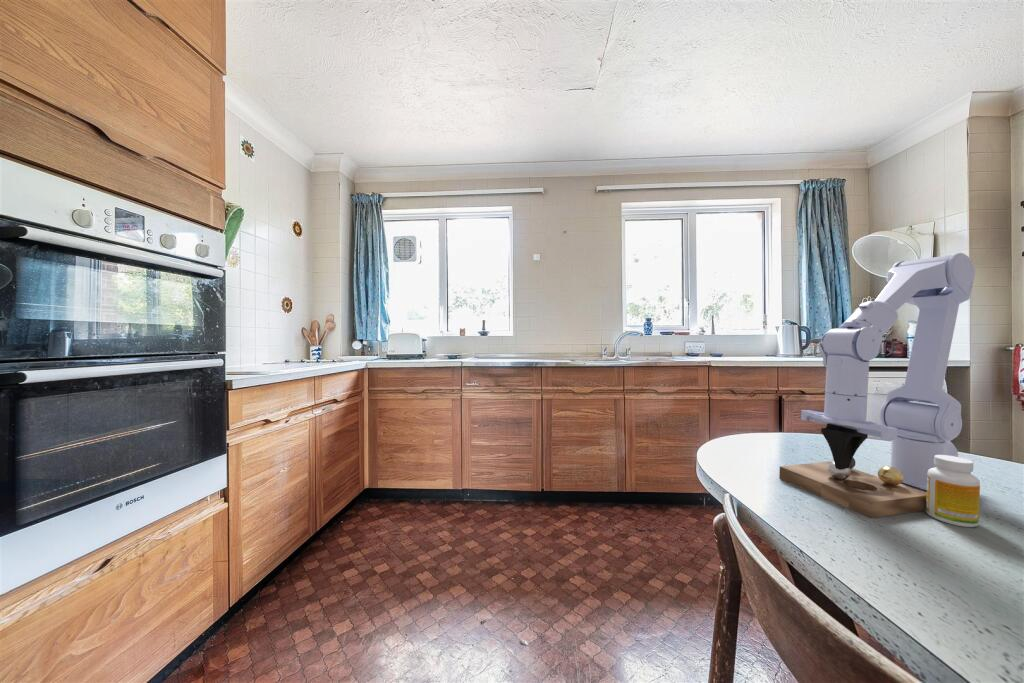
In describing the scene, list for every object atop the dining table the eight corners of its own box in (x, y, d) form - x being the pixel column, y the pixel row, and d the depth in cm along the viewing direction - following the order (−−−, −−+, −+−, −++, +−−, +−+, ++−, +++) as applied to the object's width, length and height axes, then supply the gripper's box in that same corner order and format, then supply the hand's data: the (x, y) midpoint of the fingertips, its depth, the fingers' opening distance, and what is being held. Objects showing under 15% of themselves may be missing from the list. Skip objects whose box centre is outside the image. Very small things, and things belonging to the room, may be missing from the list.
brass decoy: (886, 480, 68) (886, 463, 68) (908, 487, 65) (908, 469, 64) (872, 481, 67) (873, 464, 67) (894, 489, 64) (894, 471, 64)
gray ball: (841, 465, 75) (842, 450, 75) (859, 471, 72) (860, 455, 72) (829, 466, 74) (829, 451, 74) (846, 472, 71) (847, 456, 71)
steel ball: (851, 460, 68) (857, 478, 66) (839, 465, 70) (845, 483, 69) (832, 457, 68) (837, 475, 66) (821, 463, 71) (826, 480, 69)
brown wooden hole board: (830, 473, 78) (831, 461, 77) (931, 509, 62) (931, 494, 62) (779, 478, 75) (779, 466, 75) (870, 517, 59) (871, 502, 59)
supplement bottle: (990, 530, 56) (993, 466, 55) (947, 526, 57) (949, 463, 56) (955, 512, 61) (957, 454, 61) (916, 509, 62) (918, 452, 62)
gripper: (790, 388, 74) (786, 456, 74) (875, 401, 59) (870, 485, 60) (818, 388, 75) (814, 455, 75) (908, 401, 61) (903, 483, 61)
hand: (841, 468), depth 67 cm, fingers closed, pressing on steel ball
